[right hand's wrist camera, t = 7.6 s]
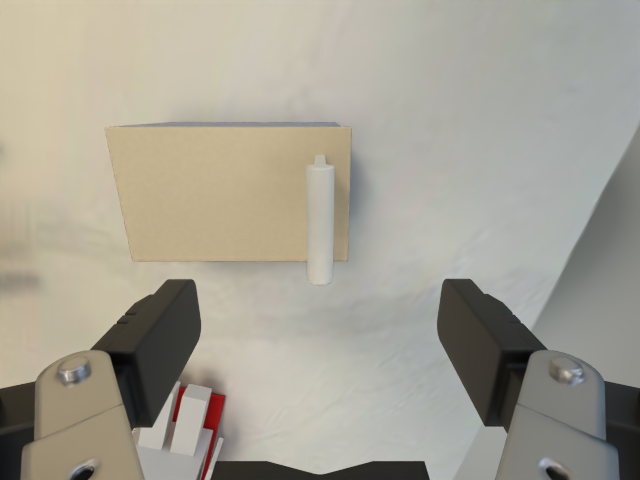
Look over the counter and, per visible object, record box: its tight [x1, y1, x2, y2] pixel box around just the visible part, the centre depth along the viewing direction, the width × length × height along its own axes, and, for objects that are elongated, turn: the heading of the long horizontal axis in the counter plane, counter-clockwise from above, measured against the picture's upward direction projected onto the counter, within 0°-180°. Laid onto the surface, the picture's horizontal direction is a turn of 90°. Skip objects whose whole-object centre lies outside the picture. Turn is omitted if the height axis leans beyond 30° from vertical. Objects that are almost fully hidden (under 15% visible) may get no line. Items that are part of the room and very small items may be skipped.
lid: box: [105, 127, 352, 285], centre depth 22 cm, size 16×10×8 cm, turn 90°
